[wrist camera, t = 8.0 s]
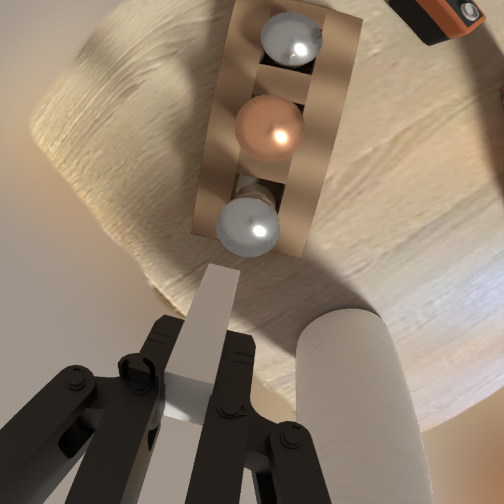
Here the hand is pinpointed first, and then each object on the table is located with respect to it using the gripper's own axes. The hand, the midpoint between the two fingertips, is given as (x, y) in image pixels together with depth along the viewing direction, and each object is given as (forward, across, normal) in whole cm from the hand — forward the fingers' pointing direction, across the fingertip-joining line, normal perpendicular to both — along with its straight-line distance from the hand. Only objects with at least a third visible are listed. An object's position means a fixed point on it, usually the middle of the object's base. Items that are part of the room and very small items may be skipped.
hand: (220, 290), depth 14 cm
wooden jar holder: (+21, 0, +7) cm, 22 cm away
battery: (+21, +13, +25) cm, 35 cm away
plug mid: (+17, 0, +7) cm, 18 cm away
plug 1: (+17, +1, -1) cm, 17 cm away
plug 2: (+20, 0, +15) cm, 25 cm away
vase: (+21, +18, -20) cm, 34 cm away
